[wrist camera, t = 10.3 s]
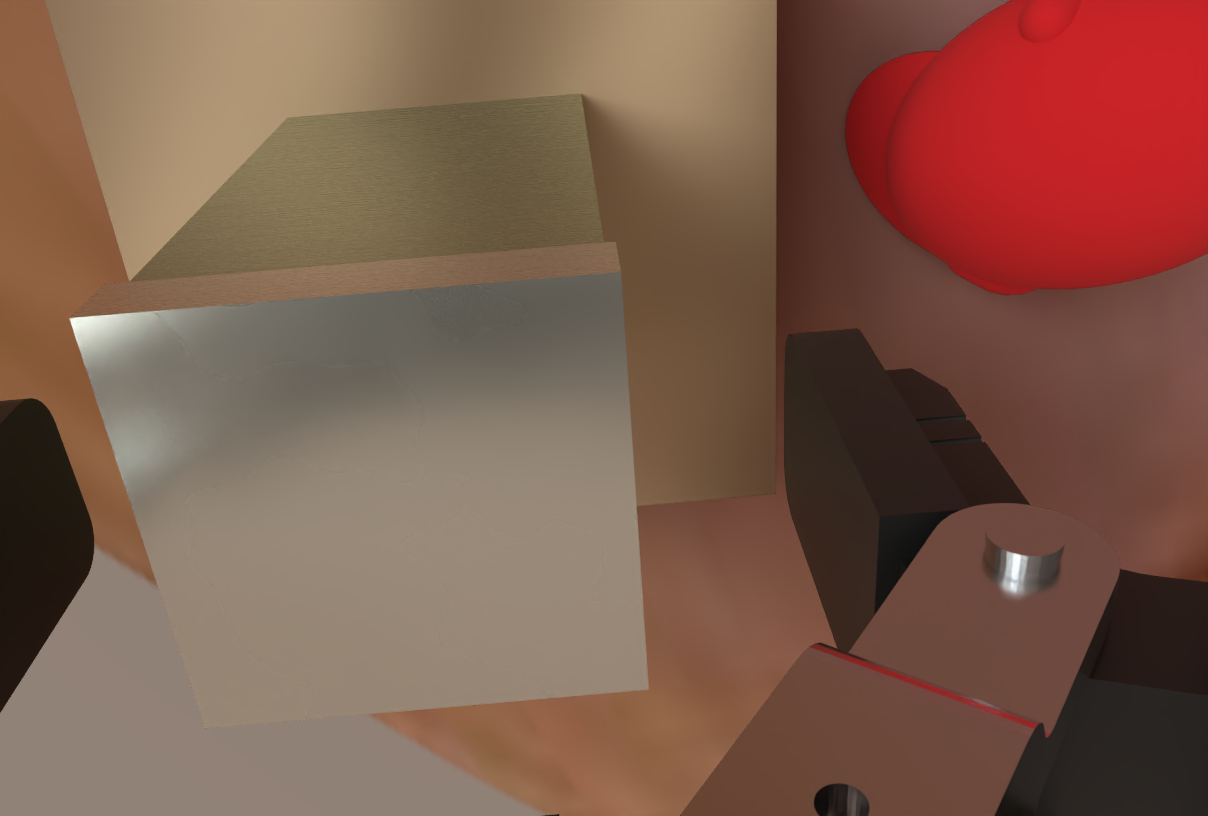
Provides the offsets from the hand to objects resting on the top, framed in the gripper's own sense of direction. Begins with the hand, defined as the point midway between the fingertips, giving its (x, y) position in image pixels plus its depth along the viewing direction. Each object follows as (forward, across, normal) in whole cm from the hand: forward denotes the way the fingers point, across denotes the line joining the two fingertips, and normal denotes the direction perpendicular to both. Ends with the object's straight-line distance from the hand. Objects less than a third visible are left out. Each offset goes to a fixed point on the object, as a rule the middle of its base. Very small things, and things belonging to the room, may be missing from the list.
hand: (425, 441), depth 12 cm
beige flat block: (+11, 0, 0) cm, 11 cm away
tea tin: (+6, 0, 0) cm, 6 cm away
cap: (+12, -11, 0) cm, 16 cm away
